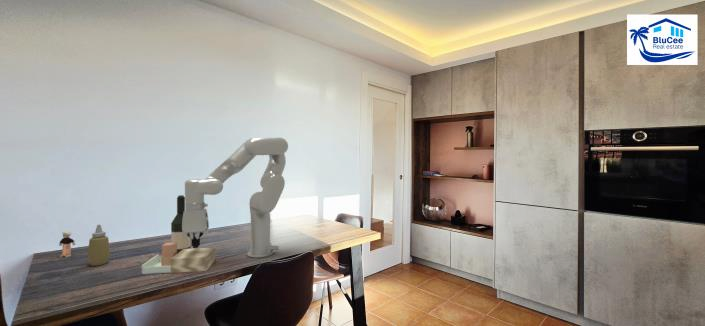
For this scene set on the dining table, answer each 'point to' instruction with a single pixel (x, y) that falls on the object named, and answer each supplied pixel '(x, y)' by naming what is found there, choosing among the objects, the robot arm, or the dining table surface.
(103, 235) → the squeeze bottle
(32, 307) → the dining table surface
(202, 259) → the plate
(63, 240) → the grandmother figurine
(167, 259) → the block
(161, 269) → the tray
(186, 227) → the robot arm
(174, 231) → the wine bottle
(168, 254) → the block
